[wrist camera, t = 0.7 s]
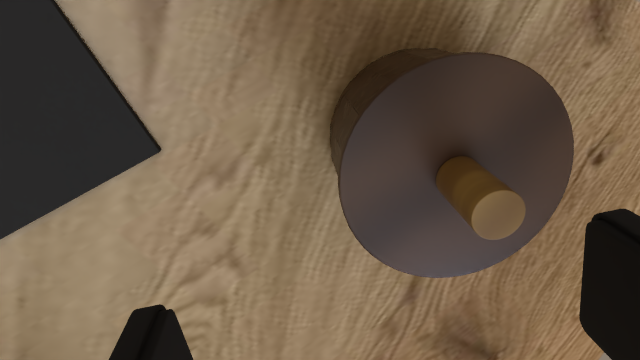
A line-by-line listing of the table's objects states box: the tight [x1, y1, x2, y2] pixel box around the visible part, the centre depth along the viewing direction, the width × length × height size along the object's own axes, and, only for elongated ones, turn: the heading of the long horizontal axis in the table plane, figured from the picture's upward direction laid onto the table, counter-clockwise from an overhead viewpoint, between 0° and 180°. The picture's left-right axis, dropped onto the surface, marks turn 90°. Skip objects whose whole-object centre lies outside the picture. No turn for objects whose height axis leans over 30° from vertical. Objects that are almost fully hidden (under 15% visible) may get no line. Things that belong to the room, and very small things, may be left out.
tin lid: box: [338, 52, 574, 278], centre depth 22 cm, size 14×14×6 cm
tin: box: [330, 48, 454, 175], centre depth 28 cm, size 13×13×8 cm
